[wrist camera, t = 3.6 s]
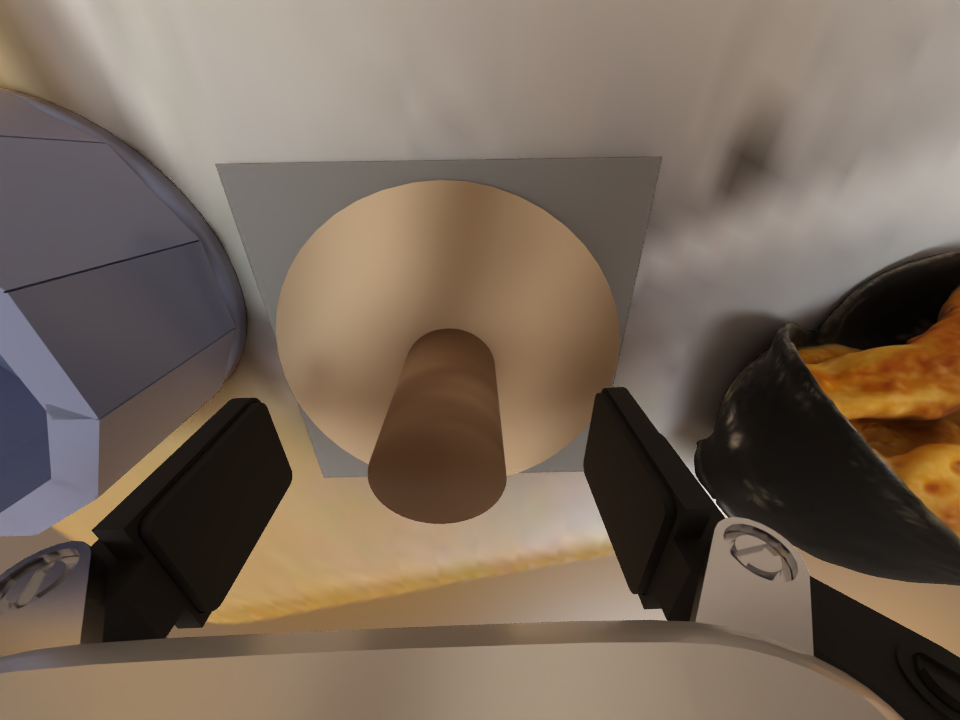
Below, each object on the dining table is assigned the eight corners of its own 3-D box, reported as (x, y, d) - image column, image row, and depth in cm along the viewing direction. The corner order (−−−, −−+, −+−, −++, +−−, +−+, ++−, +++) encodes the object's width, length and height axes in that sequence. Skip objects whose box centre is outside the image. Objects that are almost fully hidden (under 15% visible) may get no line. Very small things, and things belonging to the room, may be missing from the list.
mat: (652, 157, 10) (662, 156, 10) (590, 461, 17) (594, 471, 16) (228, 164, 10) (215, 163, 10) (328, 468, 17) (323, 477, 16)
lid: (641, 176, 10) (817, 183, 5) (585, 464, 16) (639, 606, 11) (239, 183, 10) (-11, 199, 5) (332, 469, 16) (263, 615, 11)
